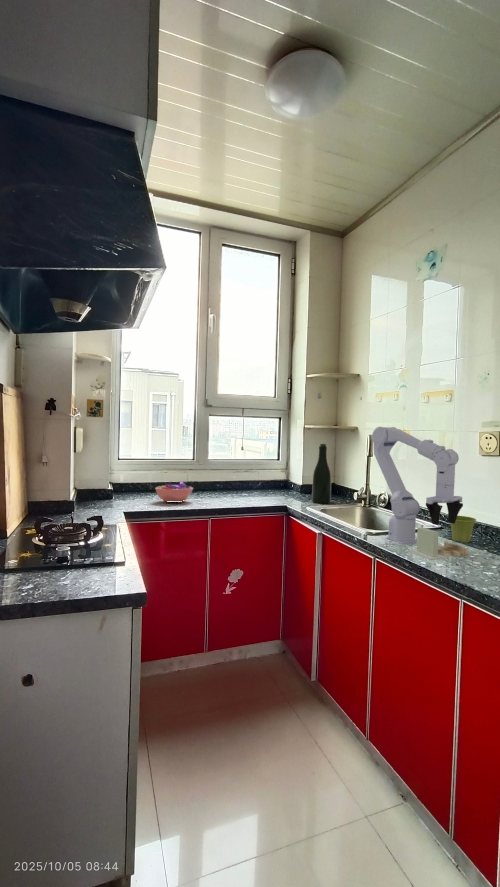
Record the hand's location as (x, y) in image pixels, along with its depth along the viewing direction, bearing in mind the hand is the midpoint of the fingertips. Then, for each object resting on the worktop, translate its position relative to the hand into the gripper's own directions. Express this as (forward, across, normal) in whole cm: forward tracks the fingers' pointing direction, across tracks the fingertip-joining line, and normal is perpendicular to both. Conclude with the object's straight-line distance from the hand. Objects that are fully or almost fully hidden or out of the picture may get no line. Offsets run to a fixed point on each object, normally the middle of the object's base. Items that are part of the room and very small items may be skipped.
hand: (443, 523), depth 147 cm
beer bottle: (+10, +10, +95) cm, 96 cm away
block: (+9, -10, -3) cm, 14 cm away
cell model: (+10, -69, +115) cm, 134 cm away
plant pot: (+10, +18, +8) cm, 22 cm away
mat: (+9, -10, -3) cm, 14 cm away
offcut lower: (+10, -4, -3) cm, 11 cm away
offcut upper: (+9, -4, -3) cm, 10 cm away
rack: (+9, +1, -3) cm, 10 cm away
